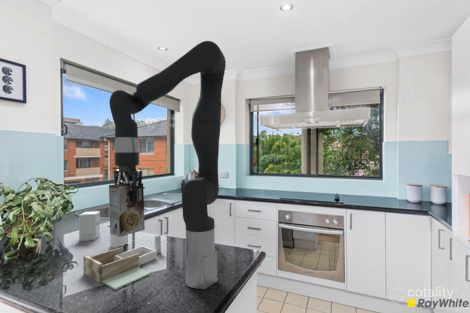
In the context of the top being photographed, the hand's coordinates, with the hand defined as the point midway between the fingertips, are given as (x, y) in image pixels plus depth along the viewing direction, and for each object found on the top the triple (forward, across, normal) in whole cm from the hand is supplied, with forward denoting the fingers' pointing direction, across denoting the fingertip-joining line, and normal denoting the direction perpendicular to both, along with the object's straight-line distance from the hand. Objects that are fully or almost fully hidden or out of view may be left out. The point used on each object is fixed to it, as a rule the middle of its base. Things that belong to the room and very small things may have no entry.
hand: (127, 201), depth 83 cm
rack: (+25, +10, +1) cm, 27 cm away
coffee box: (+10, 0, 0) cm, 10 cm away
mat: (+25, 0, +1) cm, 25 cm away
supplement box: (+25, +53, -9) cm, 59 cm away
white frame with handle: (+25, +10, -11) cm, 29 cm away
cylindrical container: (+25, +33, -14) cm, 43 cm away
